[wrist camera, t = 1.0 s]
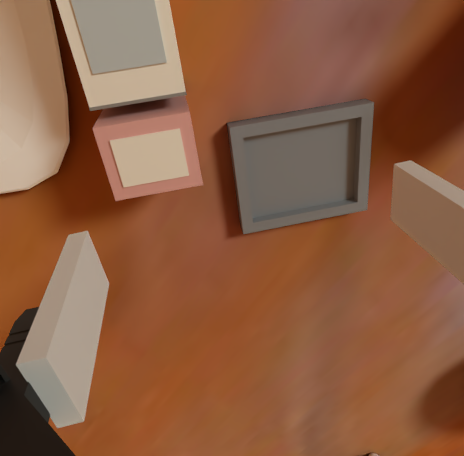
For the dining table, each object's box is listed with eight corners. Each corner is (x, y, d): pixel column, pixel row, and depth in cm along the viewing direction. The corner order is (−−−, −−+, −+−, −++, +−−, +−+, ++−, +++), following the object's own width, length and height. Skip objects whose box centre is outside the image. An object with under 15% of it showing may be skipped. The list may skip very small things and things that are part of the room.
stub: (106, 103, 29) (92, 129, 23) (183, 90, 30) (189, 112, 24) (123, 164, 32) (115, 201, 26) (194, 152, 32) (203, 185, 26)
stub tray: (226, 122, 31) (229, 127, 30) (365, 98, 32) (374, 102, 31) (240, 226, 36) (243, 234, 35) (360, 203, 37) (367, 209, 36)
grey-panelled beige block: (46, -99, 23) (13, -130, 18) (146, -111, 23) (142, -145, 18) (102, 92, 29) (89, 111, 23) (181, 79, 29) (186, 95, 24)
